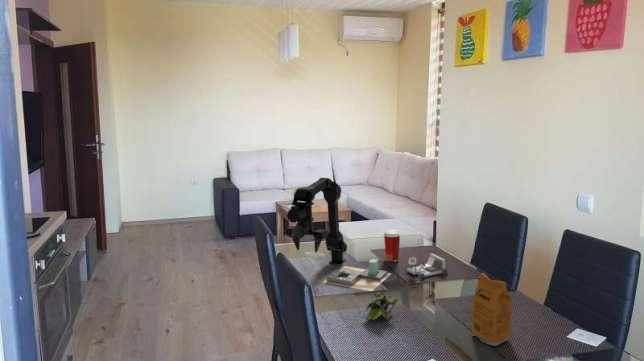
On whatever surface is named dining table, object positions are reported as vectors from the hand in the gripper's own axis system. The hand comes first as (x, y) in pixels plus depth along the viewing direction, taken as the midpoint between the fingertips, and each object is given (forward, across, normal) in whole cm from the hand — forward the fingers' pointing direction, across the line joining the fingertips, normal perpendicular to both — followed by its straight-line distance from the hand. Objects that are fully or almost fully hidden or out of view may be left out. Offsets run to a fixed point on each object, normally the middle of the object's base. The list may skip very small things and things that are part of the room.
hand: (307, 251), depth 227 cm
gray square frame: (+15, +24, +17) cm, 33 cm away
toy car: (+15, +43, +31) cm, 55 cm away
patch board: (+15, +18, +12) cm, 26 cm away
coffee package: (+15, +82, -18) cm, 85 cm away
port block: (+15, +14, +7) cm, 22 cm away
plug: (+14, +24, +17) cm, 33 cm away
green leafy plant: (+15, +43, -19) cm, 49 cm away
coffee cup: (+15, +24, +40) cm, 49 cm away
